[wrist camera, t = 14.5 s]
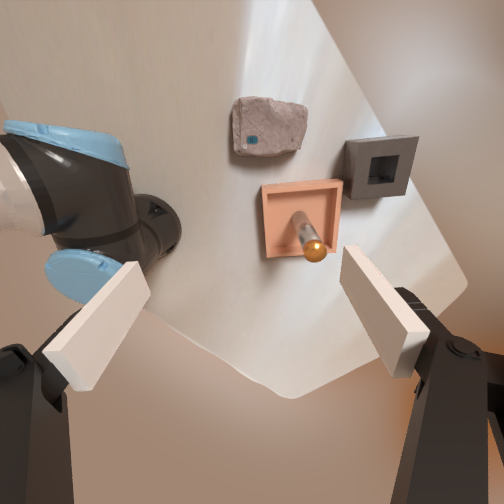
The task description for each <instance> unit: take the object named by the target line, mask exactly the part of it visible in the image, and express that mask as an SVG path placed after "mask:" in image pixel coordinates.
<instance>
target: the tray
mask: <svg viewBox="0 0 504 504" xmlns="http://www.w3.org/2000/svg"><path fill="white" fill-rule="evenodd" d="M261 186H262V200H263V214H264V228H265V242H266V255H267V258H270V257H283V256H297V255H304V252H303V250H302V247H301V244H300V242H299V239H298V237H297V234H296V231H295V229H294V226H293V223H292V221H291V217H292V215H293V214H294V213H295V212H296V211H303V212H305V213H306V214H307V216H308V218H309V220H310V221H311V223H312V225H313V227H314V228H315V230H316V232H317V234H318V235H319V237H320V239H321V240H322V242H323V244H324V246H325V247H326V250H327V253H336V248H337V238H338V229H339V219H340V210H341V200H342V190H343V181H341V180H340V179H338V178H333V179H322V180H312V181H301V182H290V183H279V184H268V185H261Z"/></svg>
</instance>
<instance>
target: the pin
mask: <svg viewBox="0 0 504 504" xmlns="http://www.w3.org/2000/svg"><path fill="white" fill-rule="evenodd" d="M291 221H292V223H293V226H294V229H295V231H296V234H297V237H298V239H299V242H300V244H301V247H302V250H303V252H304V255H305V258H306V259H307V260H308V261H310V262H319V261H321V260H323V259H324V258H325V256H326V254H327V250H326V247H325V246H324V244H323V242H322V240H321V239H320V237H319V235H318V234H317V232H316V230H315V228H314V227H313V225H312V223H311V221H310V220H309V218H308V216H307V214H306V213H305V212H303V211H296V212H295V213H294V214H293V215H292V217H291Z"/></svg>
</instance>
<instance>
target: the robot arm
mask: <svg viewBox="0 0 504 504" xmlns="http://www.w3.org/2000/svg"><path fill="white" fill-rule="evenodd" d="M3 130H4V132H5V133H7V134H6V135H0V233H3V232H8V231H12V230H14V231H20V232H23V233H26V234H29V235H32V236H35V237H42V236H45V235H49V234H51V235H52V237H53V239H54V242H55V244H56V246H57V249H58V251H56V252H55V253H53V254H51V255H50V257H49V259H48V262H47V263H46V264H45V274H46V277H47V278H48V280H49V282H50V283H51V284H52V286H53V287H54V288H55V289H57V290H58V291H59V292H60V293H62V294H63V295H65V296H66V297H68V298H70V299H73V300H75V301H76V302H79V303H81V304H85V306H84V307H83V308H81V309H80V310H78V311H77V312H75V313H74V314H72V315H71V316H70V317H69V318H68V319H67V320H66V321H65V322H64V323H63V325H61V326H60V327H59V328H58V329H57V330H56V332H54V333H53V334H52V335H51V336H50V337H49V338H48V339H47V340H46V341H45V343H44V344H43V345H42V346H41V347H40V348H39V349H38V350H37V351H36V352H35V353H34V354H33V355H31V354H30V353H29V352H28V351H27V349H26V348H25V347H24V346H23V345H21V344H12V345H9V346H6V347H3V348H1V349H0V504H74V497H73V482H72V467H71V451H70V437H69V422H68V407H67V396H66V393H65V392H64V389H65V388H66V387H67V385H68V384H70V385H71V387H72V388H73V389H74V390H75V391H91V390H92V388H93V387H94V385H95V384H96V382H97V381H98V379H99V378H100V376H101V374H102V372H103V371H104V369H105V368H106V366H107V365H108V363H109V361H110V360H111V358H112V357H113V355H114V353H115V352H116V350H117V348H118V347H119V345H120V343H121V342H122V340H123V339H124V337H125V335H126V334H127V332H128V331H129V329H130V327H131V326H132V324H133V323H134V321H135V319H136V318H137V316H138V314H139V313H140V311H141V310H142V308H143V307H144V305H145V303H146V302H147V300H148V298H149V297H150V295H151V292H150V290H149V287H148V285H147V282H146V280H145V278H144V276H145V275H146V273H147V272H148V271H149V269H150V268H151V266H152V265H153V264H154V262H155V261H156V260H157V259H159V258H161V257H163V256H165V255H167V254H169V253H170V252H171V251H172V250H173V249H174V248H175V247H176V245H177V244H178V242H179V240H180V238H181V223H180V220H179V218H178V216H177V214H176V213H175V211H174V210H173V209H172V208H171V207H170V206H169V205H168V204H167V203H166V202H164V201H163V200H161V199H159V198H157V197H155V196H152V195H147V194H136V195H134V194H133V189H132V184H131V180H130V175H129V170H130V169H129V166H128V165H127V163H126V159H125V155H124V151H123V148H122V145H121V143H120V142H119V140H118V139H117V138H115V137H114V136H112V135H110V134H107V133H102V132H96V131H89V130H82V129H75V128H68V127H61V126H53V125H45V124H37V123H31V122H23V121H15V120H5V121H4V127H3ZM340 283H341V285H342V287H343V289H344V291H345V293H346V294H347V296H348V298H349V300H350V302H351V304H352V306H353V307H354V309H355V311H356V313H357V315H358V317H359V318H360V320H361V322H362V324H363V326H364V328H365V330H366V331H367V333H368V335H369V337H370V339H371V341H372V343H373V344H374V346H375V348H376V350H377V352H378V354H379V355H380V357H381V359H382V361H383V363H384V365H385V367H386V368H387V370H388V372H389V374H390V376H391V378H404V377H405V378H407V377H411V376H412V373H413V371H414V369H416V371H417V373H418V374H419V376H420V377H421V378H420V381H419V383H418V385H417V387H416V389H415V391H414V393H416V396H415V400H414V405H413V409H412V414H411V417H410V422H409V426H408V430H407V434H406V439H405V443H404V447H403V451H402V456H401V460H400V465H399V468H398V473H397V477H396V482H395V486H394V490H393V494H392V498H391V503H390V504H488V420H489V423H490V426H491V429H492V432H493V435H494V438H495V441H496V444H497V447H498V450H499V453H500V456H501V459H502V462H503V465H504V355H499V354H494V353H488V352H484V351H482V350H481V349H480V348H479V347H478V346H476V345H475V344H474V343H472V342H470V341H468V340H466V339H464V338H462V337H458V336H454V335H452V334H451V333H450V332H449V331H448V330H447V329H446V327H445V326H444V325H443V324H442V323H441V322H440V321H439V320H438V319H437V318H436V317H435V316H434V315H433V314H432V313H431V312H430V311H429V310H427V307H426V306H425V305H424V304H423V303H421V301H420V300H419V299H418V298H417V297H416V296H415V295H414V294H413V293H412V292H410V291H408V290H407V289H405V288H403V287H399V288H393V287H392V286H391V284H390V283H389V282H388V281H387V280H386V279H385V277H384V276H383V275H382V274H381V273H380V271H379V270H378V269H377V268H376V267H375V266H374V264H373V263H372V262H371V261H370V260H369V259H368V257H367V256H366V255H365V254H364V253H363V252H362V250H361V249H360V248H359V247H358V246H357V245H346V246H344V249H343V258H342V266H341V274H340ZM487 419H488V420H487Z"/></svg>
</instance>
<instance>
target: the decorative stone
mask: <svg viewBox="0 0 504 504" xmlns="http://www.w3.org/2000/svg"><path fill="white" fill-rule="evenodd" d="M232 112H233V115H232V118H233V124H232V127H233V141H234V152H235V153H236V154H237V155H240V156H249V155H251V156H260V157H271V156H279V155H281V154H285V153H289V152H293V151H296V150H297V149H300V148H301V144H302V141H303V138H304V135H305V132H306V129H307V116H308V110H307V108H306V107H304V106H303V105H299V104H295V103H285V102H282V101H274V100H273V99H272V98H262V97H255V96H253V97H242V98H239V99H237V100H236V101H235V102H234V105H233V106H232Z"/></svg>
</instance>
